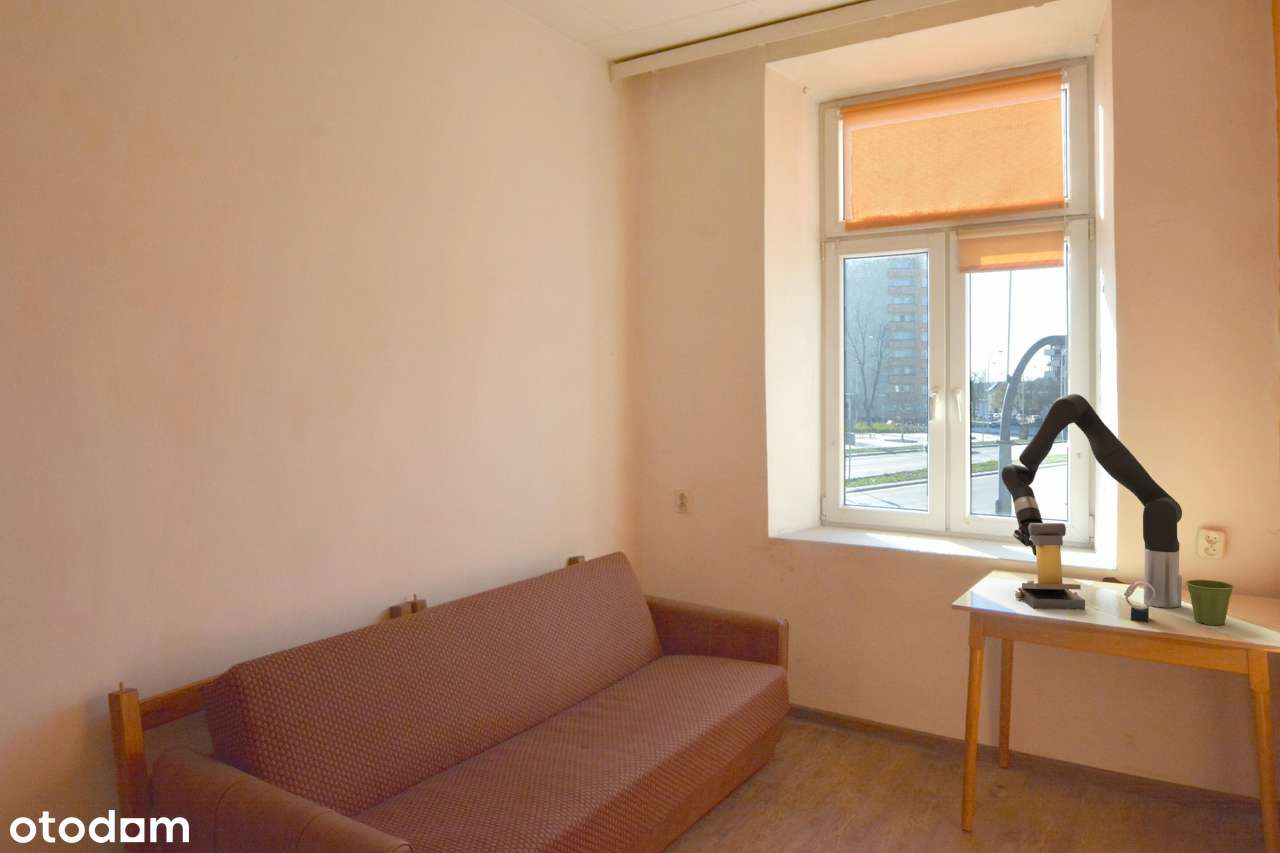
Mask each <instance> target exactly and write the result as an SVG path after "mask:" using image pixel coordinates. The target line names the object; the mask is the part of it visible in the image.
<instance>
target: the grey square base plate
mask: <svg viewBox="0 0 1280 853" xmlns="http://www.w3.org/2000/svg"><path fill="white" fill-rule="evenodd" d="M1014 595H1015V598H1016V599H1020V600H1022V601H1023V602H1025V603H1026V604H1027V605H1028V606H1029V607H1031V608H1032V609H1034V610H1035V609H1040V610H1041V609H1042V610H1077V609H1080V610H1081V611H1083V610H1086V599H1084V598H1083V597H1081V596H1079V595H1078V592H1077V591H1073V590H1071V589H1033V588H1022V587H1018V590H1015V593H1014Z"/></svg>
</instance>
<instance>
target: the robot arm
mask: <svg viewBox="0 0 1280 853" xmlns="http://www.w3.org/2000/svg"><path fill="white" fill-rule="evenodd" d="M1070 424H1071V425H1072V424H1075V425H1076V426H1077V427H1078V429H1079V430H1081V431H1082V432H1083V434H1084V435H1085V437H1086V438H1087V441H1088V443H1089V445H1090V448H1091V451H1092V454H1093V456H1094V458H1095V459H1096V461H1097V463H1098V464H1099V465H1100V466H1101V467H1102V469H1104V471H1105V472H1106V473H1107V474H1108V475H1109V476H1110V477H1111V478H1112V479H1113V480H1115V481H1116V482H1118V483H1119V484H1120V485H1122V486H1123V487H1125V488H1126V489H1127V490H1128V491H1130V492H1131V493H1132V494H1133V495H1134V496H1135V497H1136V498H1137V499H1138V500H1139V502H1140V503H1141V504H1142V506H1143V507H1144V508H1143V512H1142V539H1143V542H1144V565H1143V566H1144V568H1143V569H1144V570H1143V571H1144V573H1143V574H1144V576H1143V582H1146V583H1148V584H1150V585H1151V586H1152V587H1153V588H1154V590H1155V596H1156V597H1155V600H1154V602H1153V604H1152V605H1151V606H1150V607H1157V608H1165V609H1166V608H1179V607H1182V597H1183V596H1182V595H1183V594H1182V590H1183V588H1182V587H1183V586H1182V585H1183V577H1182V575H1180V542H1179V539H1178V523H1179V522H1180V521H1181V520H1182V517H1183V508H1182V506H1181V505H1180V503H1178V501H1177V500H1176V499H1175V498H1174V497H1173V496H1172V495H1170V494H1169V493H1168V492H1167V491H1165V490H1164V489H1163V488H1162V486H1160V485H1159V484H1158V483H1157V482H1156V480H1154V479H1153V478H1152V476H1151V475H1150V474H1149V473H1148V471H1147V470H1146V468H1144V466H1143V465H1142V464H1141V463H1140V462H1139V461H1138V459H1137V458H1136V457H1135V456H1134V454H1133V453H1132V452H1131V451H1130V450H1129V449H1128V447H1126V445H1124V443H1123V442H1122V441H1121V440H1119V438H1118V437H1117V436H1116V435H1115V434H1114V432H1112V431H1111V430H1110V428H1109V427H1108V426H1107V425H1106V424H1105V422H1103V420H1102V419H1101V417H1099V415H1098V414H1097V412H1096V410H1094V408H1093V406H1092V405H1091V404H1090V403H1089V401H1088V400H1087V399H1086V398H1085V397H1084V396H1082V395H1081V394H1079V393H1078V394H1077V393H1071V394H1067V395H1063V396H1061V397H1058V398H1057V399H1056V400H1054V401H1053V402H1052V404H1051V406H1050V408H1049V410H1048V412H1047V414H1046V415H1045V419H1044V420H1043V421H1042V424H1041V425H1040V427H1039V428H1038V430H1037V432H1036V434H1035V435H1034V436H1033V437H1032V439H1031V440H1030V442H1028V444H1027V445H1026V446H1025V447H1024V449H1023V451H1022V452H1021V453H1020V455H1019V457H1018V460H1019V462H1020V463H1021V464H1022V465H1023V466H1022V465H1018V464H1014V463H1007V464H1006V465H1004V467H1003V468H1002V469H1001V470H1002V471H1001V480H1002V482H1003V484H1004V486H1005V487H1006V488H1007V491H1008V492H1009V494H1010V495H1011V497H1012V503H1013V505H1014V513H1015V516H1016V520H1017V523H1018V524H1017V525H1018V528H1017V529H1015V530H1014V532H1013V534H1012V536H1013V538H1015V539H1016V540H1017V541H1019V542H1020V543H1021V544H1022V545H1024V546H1026V547H1031V551H1032V553H1033V556H1035V557H1036V558H1037V556H1036V546H1034V545H1033V536H1030V534H1029V524H1030V523H1044V521H1043V518H1042V515H1041V511H1040V508H1039V505H1038V502H1037V500H1036V497H1035V493H1034V489H1033V488H1032V487H1031V486H1030V485H1031V484H1033V483H1034V480H1035V477H1036V475H1037V472H1038V471H1039V470H1038V469H1039V467H1040V465H1041V464H1042V462H1044V460H1045V459H1046V458H1047V456H1048V455H1049V454H1050V452H1051V451H1052V450H1051V449H1052V448H1053V446H1054V443H1055V440H1056V439H1057V437H1058V436H1059V435H1060V433H1061V432H1062V431H1063V430H1065V429H1066V427H1068V426H1069V425H1070ZM1153 593H1154V592H1153V590H1152V589H1151V588H1150V587H1148V586H1147V585H1144V584H1143V603H1144V604H1145V605H1147V604H1148V603H1149V602H1150V600H1151V598H1152V596H1153Z"/></svg>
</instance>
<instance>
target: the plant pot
mask: <svg viewBox="0 0 1280 853" xmlns="http://www.w3.org/2000/svg"><path fill="white" fill-rule="evenodd" d="M1185 584H1186V585H1187V590H1188V592H1189V595H1190V601H1191V605H1192V606H1191V607H1192V611H1193V617H1194V621H1195V622H1196V623H1199V624H1200V623H1202V624H1204V625H1206V624H1207V625H1206V626H1221V625H1225V624H1226V620H1227V615H1228V610H1229V609H1228V608H1229V603H1230V600H1231V599H1230V598H1231V596H1232V592H1233V589H1235V587H1236V586H1235V584H1233V583H1229V582H1225V581H1219V580H1211V579H1189V580H1186V581H1185Z"/></svg>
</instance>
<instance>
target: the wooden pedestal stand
mask: <svg viewBox="0 0 1280 853" xmlns="http://www.w3.org/2000/svg"><path fill="white" fill-rule="evenodd" d="M1029 534H1030V536H1033V545H1034V546H1036V556H1037V557H1036V556H1035V557H1036V570H1037V571H1036V572H1037V583H1036V582H1035V581H1034V580H1026V582H1021V588H1033V589H1069V590H1078V591H1079V590H1082V586H1081V584H1077V583H1075V584H1074V583H1063V571H1062V556H1061V555H1062V552H1061V551H1062V550H1061V546H1063V545H1064V543H1063V542H1064V541H1063V537H1065V536H1066V534H1067V528H1066V525H1065V523H1062V522H1061V523H1059V522H1058V523H1054V522H1053V523H1051V522H1050V523H1047V522H1043V523H1030V524H1029Z"/></svg>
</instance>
